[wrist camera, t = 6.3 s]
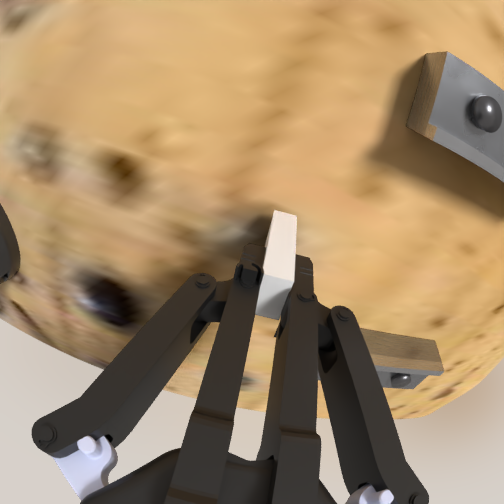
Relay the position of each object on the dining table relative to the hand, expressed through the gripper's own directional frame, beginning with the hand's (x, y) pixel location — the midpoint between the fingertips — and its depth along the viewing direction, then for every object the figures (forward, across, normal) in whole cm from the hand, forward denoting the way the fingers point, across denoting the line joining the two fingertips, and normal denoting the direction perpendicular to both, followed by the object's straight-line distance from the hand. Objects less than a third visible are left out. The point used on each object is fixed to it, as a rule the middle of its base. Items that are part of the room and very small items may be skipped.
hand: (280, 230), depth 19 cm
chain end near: (+2, +13, +12) cm, 18 cm away
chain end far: (+2, +13, -12) cm, 18 cm away
